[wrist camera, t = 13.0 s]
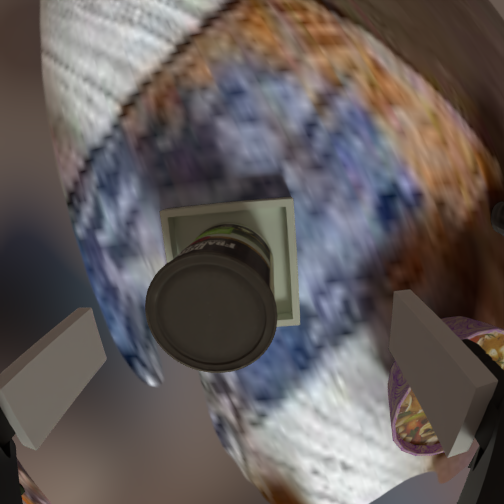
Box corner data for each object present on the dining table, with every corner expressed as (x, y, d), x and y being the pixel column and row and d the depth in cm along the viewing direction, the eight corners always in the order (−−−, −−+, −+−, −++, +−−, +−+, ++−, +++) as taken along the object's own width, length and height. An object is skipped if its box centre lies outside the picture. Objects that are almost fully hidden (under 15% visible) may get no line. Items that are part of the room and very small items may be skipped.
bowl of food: (497, 298, 38) (542, 328, 26) (453, 403, 42) (481, 445, 31) (390, 285, 38) (430, 325, 27) (351, 407, 43) (367, 462, 31)
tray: (167, 208, 37) (159, 211, 34) (291, 196, 36) (293, 198, 33) (184, 321, 40) (179, 330, 38) (298, 314, 39) (300, 324, 37)
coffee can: (173, 240, 37) (123, 278, 23) (255, 209, 36) (248, 231, 22) (207, 317, 39) (179, 384, 25) (286, 291, 38) (295, 354, 24)
